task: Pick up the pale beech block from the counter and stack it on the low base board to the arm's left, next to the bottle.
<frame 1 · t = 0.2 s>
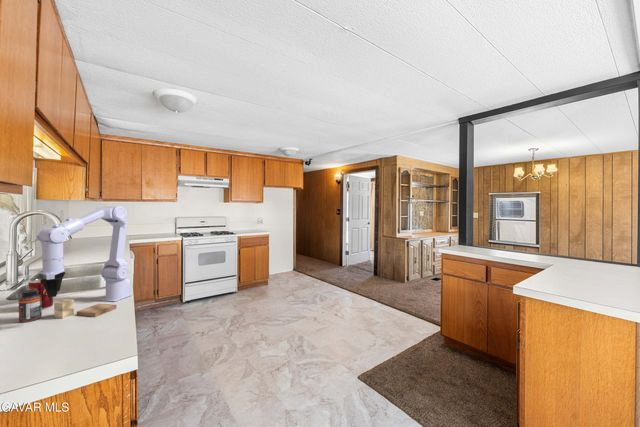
hand: (54, 294, 102), 10 cm above the counter, fingers open, 7 cm apart
beech block: (64, 316, 106), on the counter
base: (97, 311, 110), on the counter
supplement bottle: (30, 320, 102), on the counter
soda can: (41, 308, 114), on the counter
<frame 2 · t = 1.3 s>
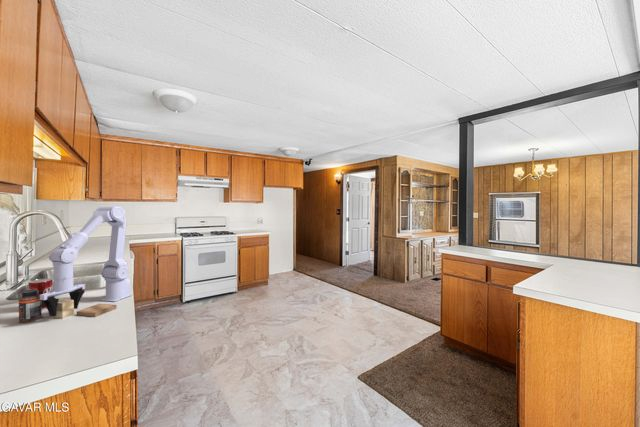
hand: (64, 312, 105), 2 cm above the counter, fingers open, 7 cm apart
nothing on the counter moved.
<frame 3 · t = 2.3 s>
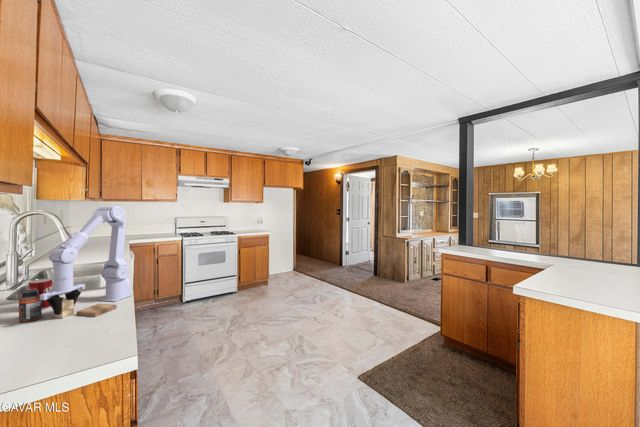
hand: (64, 312, 106), 2 cm above the counter, fingers closed on beech block, 4 cm apart
beech block: (64, 316, 106), on the counter, touching gripper
everything else where it was.
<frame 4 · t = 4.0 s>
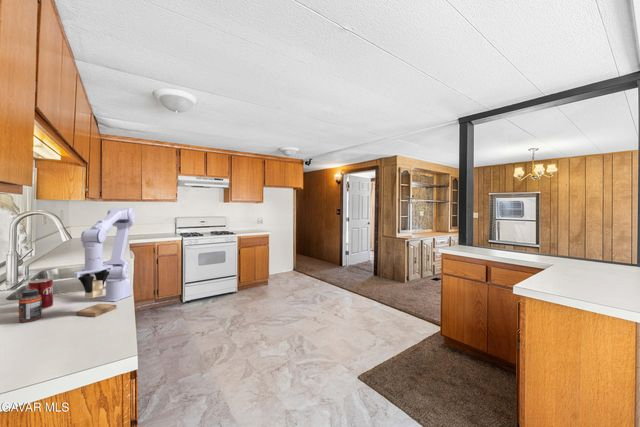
hand: (94, 290, 109), 9 cm above the counter, fingers closed on beech block, 4 cm apart
beech block: (93, 295, 110), point 7 cm above the counter, touching gripper
everything else where it was.
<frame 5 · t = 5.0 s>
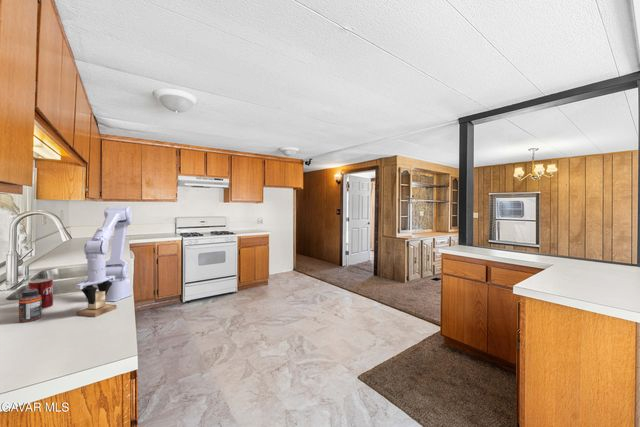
hand: (97, 301, 110), 4 cm above the counter, fingers closed on beech block, 4 cm apart
beech block: (96, 306, 110), point 2 cm above the counter, touching gripper
everything else where it was.
when the fingers open (4 cm above the counter, at t = 5.8 s): beech block stays where it is, resting on base.
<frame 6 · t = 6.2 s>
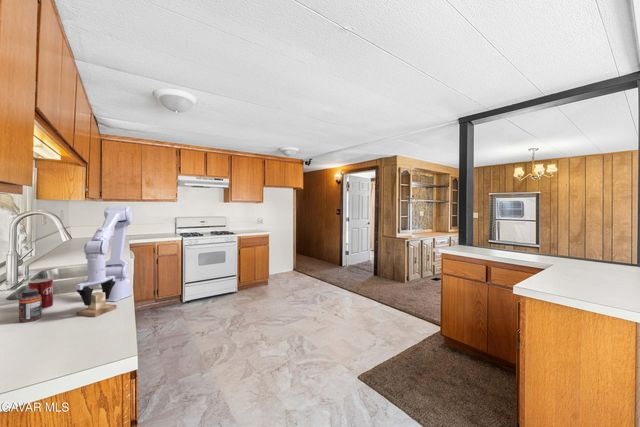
hand: (97, 301, 110), 4 cm above the counter, fingers open, 7 cm apart
beech block: (96, 307, 110), point 2 cm above the counter, touching base
everything else where it was.
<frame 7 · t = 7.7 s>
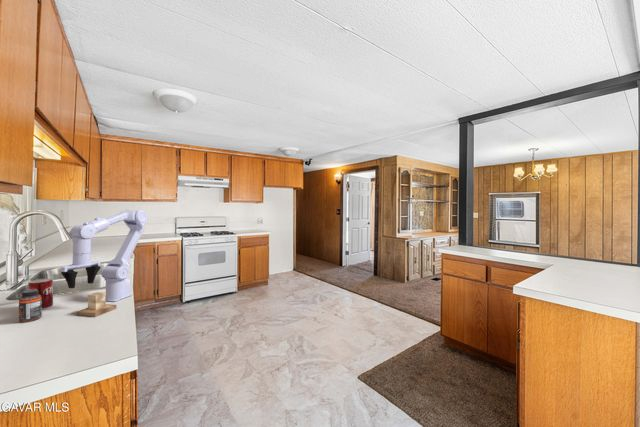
hand: (81, 285, 112), 10 cm above the counter, fingers open, 7 cm apart
nothing on the counter moved.
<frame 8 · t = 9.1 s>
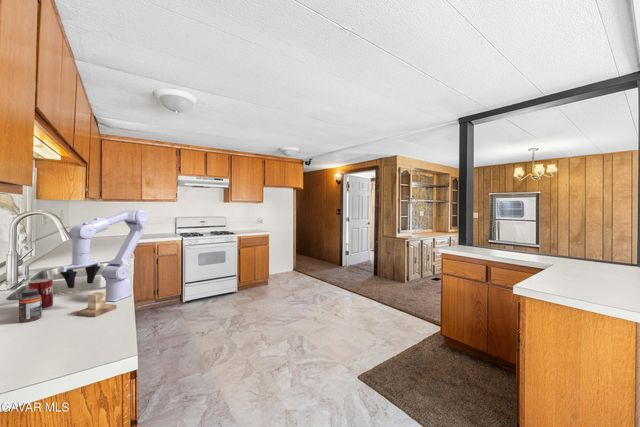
hand: (80, 285, 112), 10 cm above the counter, fingers open, 7 cm apart
nothing on the counter moved.
at the end: beech block inside the target area on the base (0.2 cm from its centre), point 1.6 cm above the base's base; beech block tilted 0°; the gripper is holding nothing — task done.
